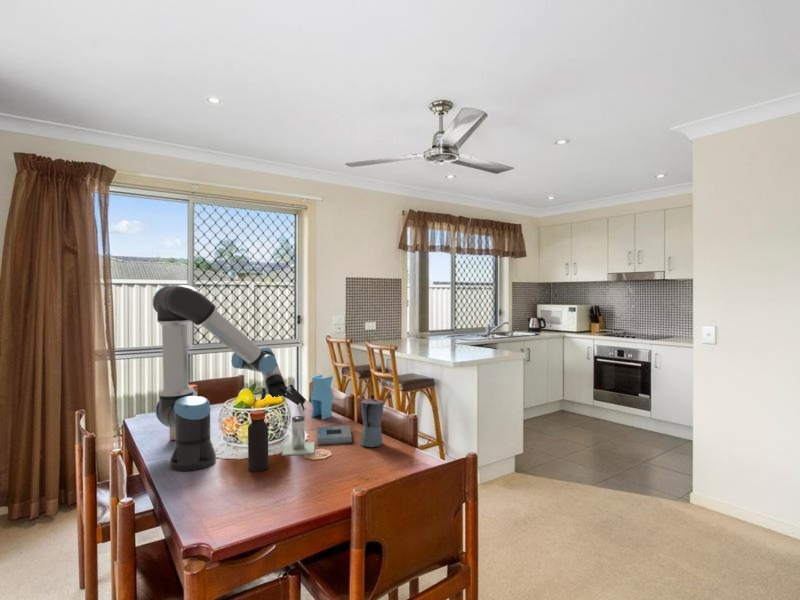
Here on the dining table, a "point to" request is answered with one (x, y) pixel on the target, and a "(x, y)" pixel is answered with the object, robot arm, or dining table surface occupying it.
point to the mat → (307, 450)
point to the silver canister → (298, 432)
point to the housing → (333, 435)
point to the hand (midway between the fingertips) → (288, 421)
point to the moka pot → (372, 422)
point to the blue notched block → (322, 396)
